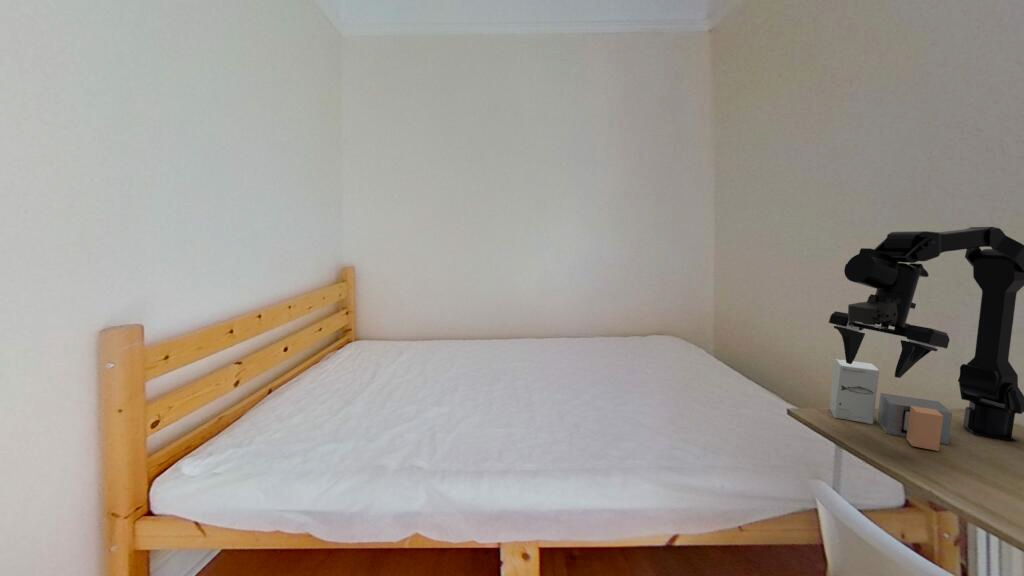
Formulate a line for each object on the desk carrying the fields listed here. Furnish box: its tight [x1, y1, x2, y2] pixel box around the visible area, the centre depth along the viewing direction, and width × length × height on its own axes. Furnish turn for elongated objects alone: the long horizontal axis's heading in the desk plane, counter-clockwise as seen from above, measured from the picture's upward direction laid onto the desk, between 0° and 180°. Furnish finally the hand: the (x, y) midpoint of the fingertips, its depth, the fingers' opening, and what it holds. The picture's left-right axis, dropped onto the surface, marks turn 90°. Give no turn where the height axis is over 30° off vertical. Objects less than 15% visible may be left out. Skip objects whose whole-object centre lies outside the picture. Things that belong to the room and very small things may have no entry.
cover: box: [902, 406, 943, 452], centre depth 94 cm, size 4×12×7 cm, turn 151°
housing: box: [876, 392, 953, 445], centre depth 98 cm, size 10×8×7 cm
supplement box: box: [829, 358, 880, 425], centre depth 106 cm, size 7×7×13 cm
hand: (871, 370), depth 90 cm, fingers open, 9 cm apart
